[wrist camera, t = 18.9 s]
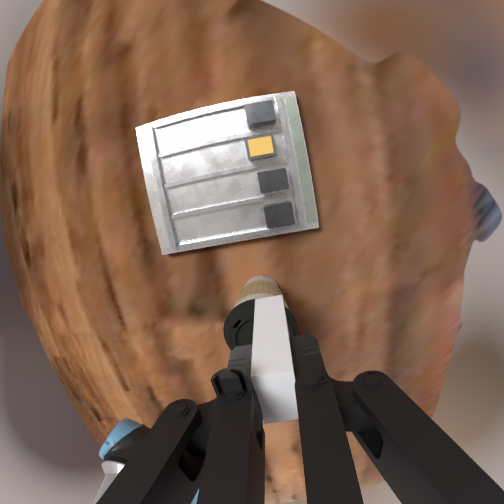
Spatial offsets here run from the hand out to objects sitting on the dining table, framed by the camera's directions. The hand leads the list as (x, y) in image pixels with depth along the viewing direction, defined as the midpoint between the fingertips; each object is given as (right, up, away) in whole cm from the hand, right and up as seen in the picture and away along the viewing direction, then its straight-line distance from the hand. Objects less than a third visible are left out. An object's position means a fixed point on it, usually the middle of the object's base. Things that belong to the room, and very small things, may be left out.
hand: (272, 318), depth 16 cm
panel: (-5, +16, +28) cm, 33 cm away
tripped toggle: (0, +19, +25) cm, 31 cm away
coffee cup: (+1, -3, +34) cm, 34 cm away
